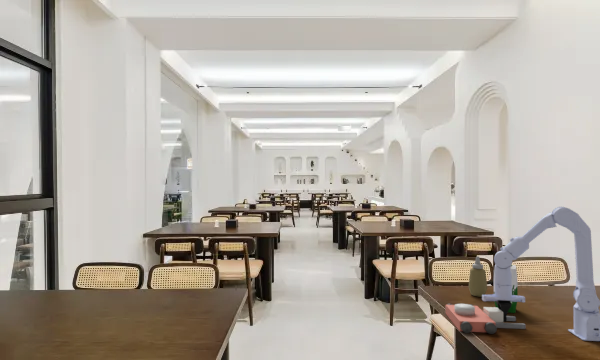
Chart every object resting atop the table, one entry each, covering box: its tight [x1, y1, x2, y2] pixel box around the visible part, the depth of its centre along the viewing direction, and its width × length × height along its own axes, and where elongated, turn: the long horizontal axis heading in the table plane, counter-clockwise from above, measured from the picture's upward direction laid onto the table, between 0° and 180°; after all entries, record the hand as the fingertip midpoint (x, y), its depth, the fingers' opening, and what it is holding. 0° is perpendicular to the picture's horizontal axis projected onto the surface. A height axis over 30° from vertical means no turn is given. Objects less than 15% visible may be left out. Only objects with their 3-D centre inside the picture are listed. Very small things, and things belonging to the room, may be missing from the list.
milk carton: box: [493, 264, 519, 314], centre depth 165 cm, size 9×9×20 cm
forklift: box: [444, 303, 527, 335], centre depth 149 cm, size 23×24×6 cm
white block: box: [482, 306, 504, 323], centre depth 149 cm, size 6×8×5 cm
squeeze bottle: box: [468, 255, 488, 298], centre depth 188 cm, size 8×8×18 cm
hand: (503, 321), depth 148 cm, fingers closed
